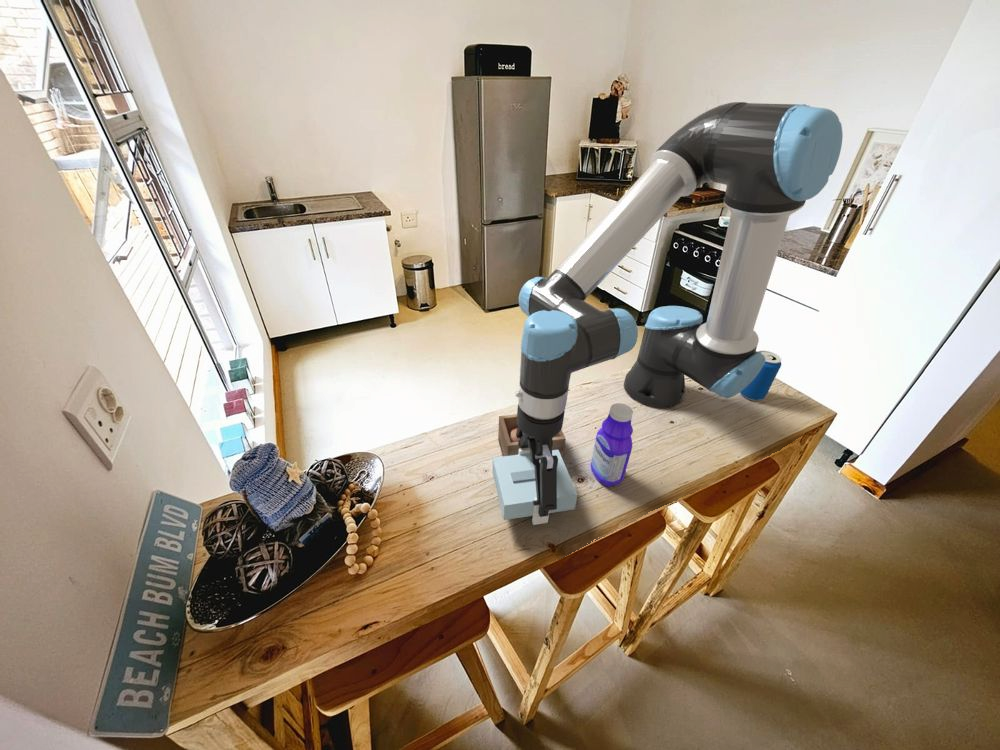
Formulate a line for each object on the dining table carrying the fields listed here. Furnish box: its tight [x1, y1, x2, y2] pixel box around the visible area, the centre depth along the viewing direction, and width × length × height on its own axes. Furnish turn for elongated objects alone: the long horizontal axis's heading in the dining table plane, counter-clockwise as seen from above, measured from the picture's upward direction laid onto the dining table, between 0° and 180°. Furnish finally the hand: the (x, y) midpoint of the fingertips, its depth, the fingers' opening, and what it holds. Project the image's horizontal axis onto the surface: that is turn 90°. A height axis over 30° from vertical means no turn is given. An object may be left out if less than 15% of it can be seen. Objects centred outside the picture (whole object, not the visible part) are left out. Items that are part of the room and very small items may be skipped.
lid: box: [491, 450, 579, 521], centre depth 76 cm, size 13×11×4 cm
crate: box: [497, 413, 567, 460], centre depth 88 cm, size 12×9×7 cm
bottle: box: [590, 402, 634, 487], centre depth 80 cm, size 7×6×17 cm
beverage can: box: [739, 350, 782, 402], centre depth 106 cm, size 6×6×12 cm
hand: (531, 495), depth 78 cm, fingers closed on lid, 11 cm apart
